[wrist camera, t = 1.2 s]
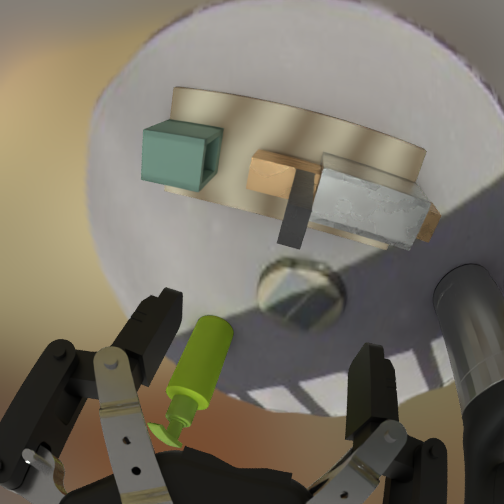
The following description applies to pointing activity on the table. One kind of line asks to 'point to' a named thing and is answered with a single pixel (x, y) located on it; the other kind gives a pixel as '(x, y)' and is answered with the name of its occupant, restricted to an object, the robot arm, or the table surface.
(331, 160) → the outer sleeve
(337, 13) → the table surface
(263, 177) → the inner bar
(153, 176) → the socket block
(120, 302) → the table surface
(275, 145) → the base board
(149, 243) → the table surface
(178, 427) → the soap dispenser
